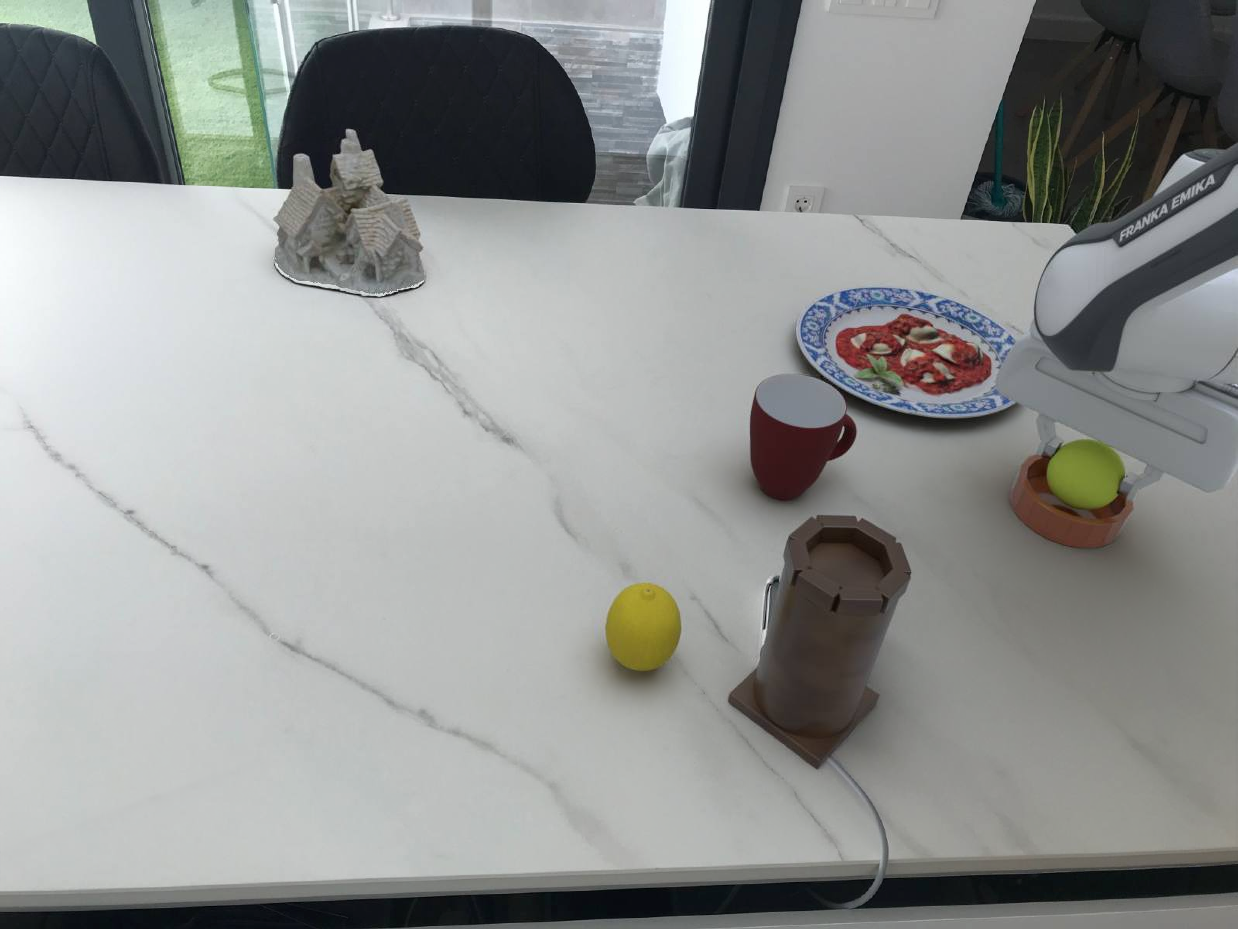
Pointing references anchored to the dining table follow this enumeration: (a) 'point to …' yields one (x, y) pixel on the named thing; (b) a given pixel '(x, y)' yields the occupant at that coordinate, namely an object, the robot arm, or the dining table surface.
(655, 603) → the lemon
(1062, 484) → the tennis ball
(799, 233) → the dining table surface
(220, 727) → the dining table surface
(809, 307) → the ceramic plate
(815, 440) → the mug
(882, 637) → the brown toy castle tower
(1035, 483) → the terracotta dish
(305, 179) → the ceramic cottage
